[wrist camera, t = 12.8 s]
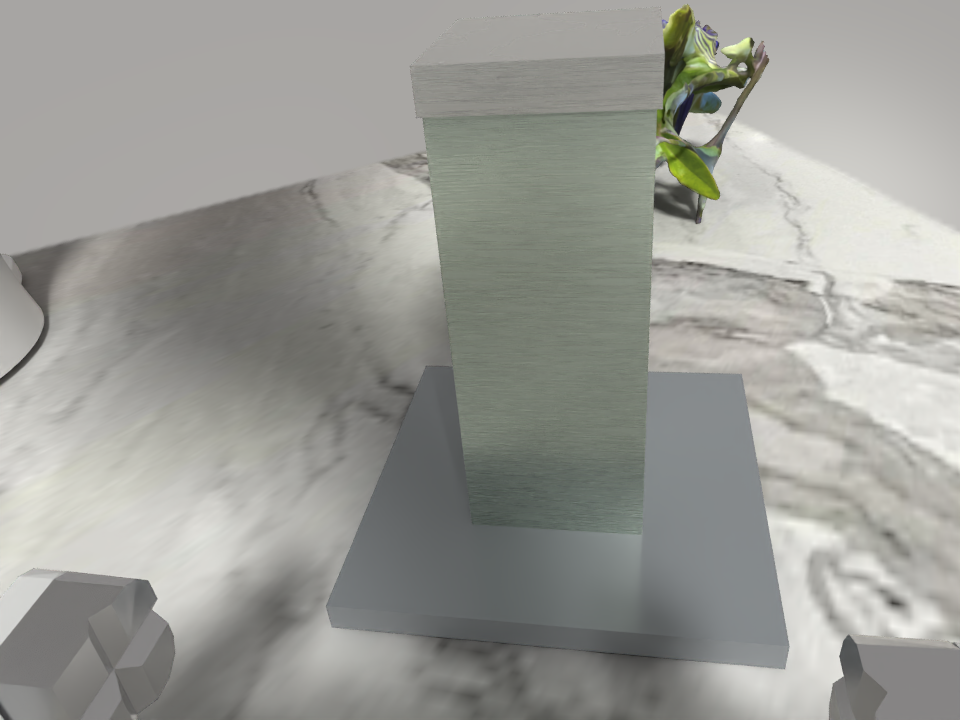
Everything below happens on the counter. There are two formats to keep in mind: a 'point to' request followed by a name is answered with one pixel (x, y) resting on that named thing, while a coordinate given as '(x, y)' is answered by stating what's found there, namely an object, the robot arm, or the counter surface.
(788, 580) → the counter surface
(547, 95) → the sage tea tin
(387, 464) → the plate
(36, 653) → the robot arm
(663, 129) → the passion flower
